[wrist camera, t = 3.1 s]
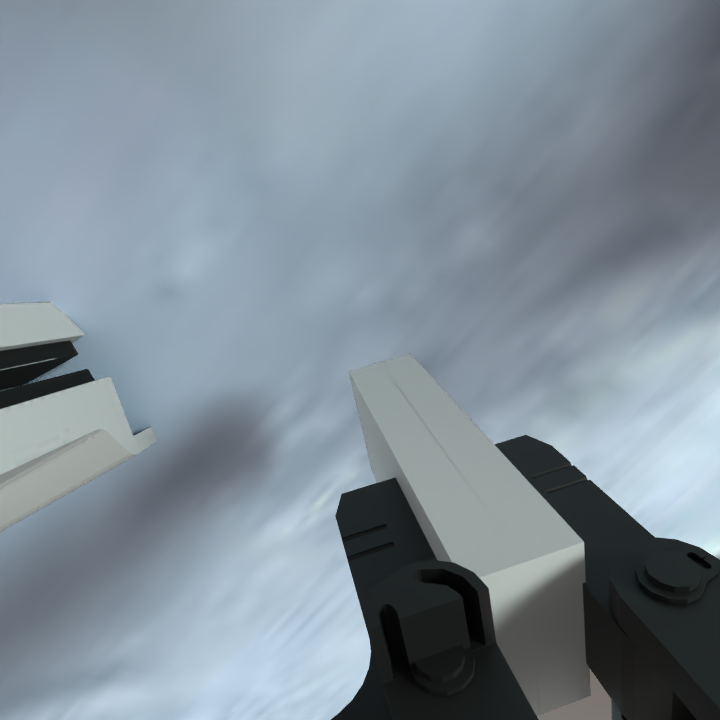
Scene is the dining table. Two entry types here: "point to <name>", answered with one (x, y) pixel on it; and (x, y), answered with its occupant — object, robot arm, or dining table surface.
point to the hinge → (53, 414)
